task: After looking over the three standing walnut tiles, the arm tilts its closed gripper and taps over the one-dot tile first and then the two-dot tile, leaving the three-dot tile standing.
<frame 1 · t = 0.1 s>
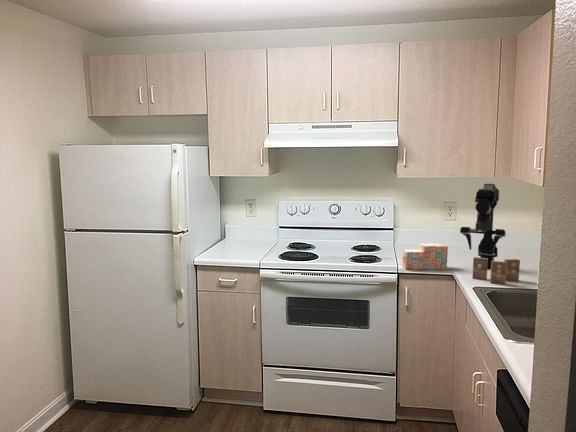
hand: (481, 250, 216), 15 cm above the countertop, tool pointing down, fingers open, 9 cm apart
tile two: (510, 280, 224), on the countertop
stack of blocks: (424, 268, 248), on the countertop
tile one: (479, 278, 227), on the countertop
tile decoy: (497, 283, 220), on the countertop
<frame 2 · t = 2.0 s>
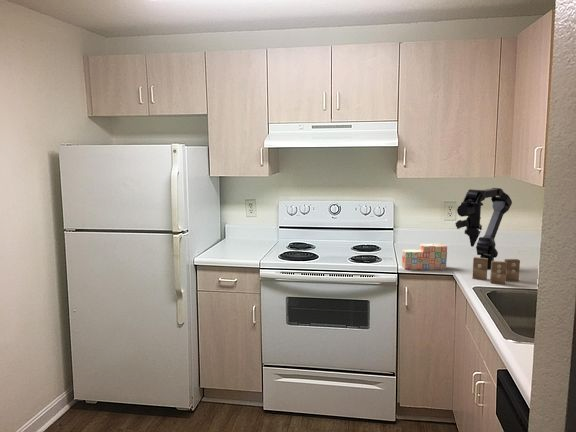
hand: (472, 245, 239), 13 cm above the countertop, tool pointing down, fingers open, 3 cm apart
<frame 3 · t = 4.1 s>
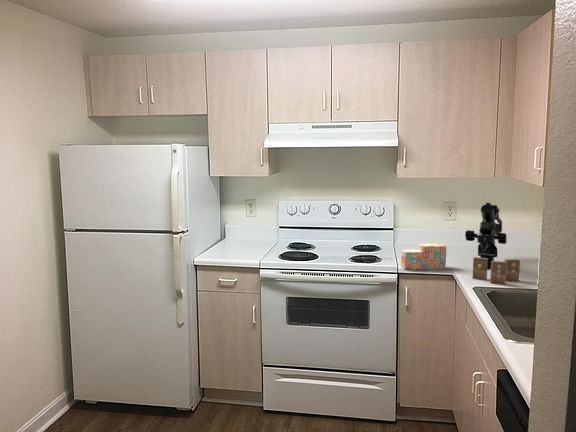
hand: (483, 251, 233), 12 cm above the countertop, tool tilted 45°, fingers closed
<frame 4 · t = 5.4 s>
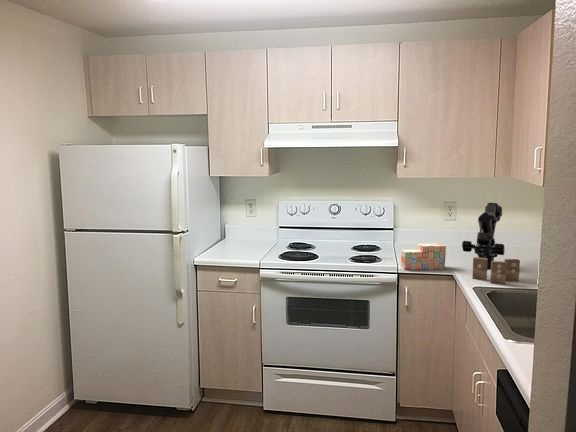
hand: (480, 262, 227), 8 cm above the countertop, tool tilted 45°, fingers closed
tile one: (479, 278, 227), on the countertop, tilted 5°
everything else where it was.
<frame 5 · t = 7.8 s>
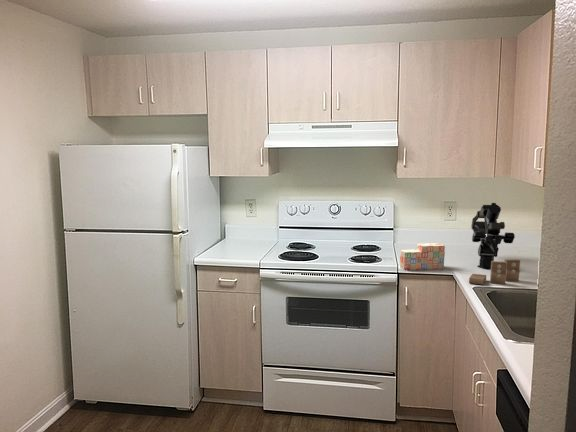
hand: (494, 251, 231), 12 cm above the countertop, tool tilted 45°, fingers closed
tile one: (479, 276, 226), point 1 cm above the countertop, tilted 88°
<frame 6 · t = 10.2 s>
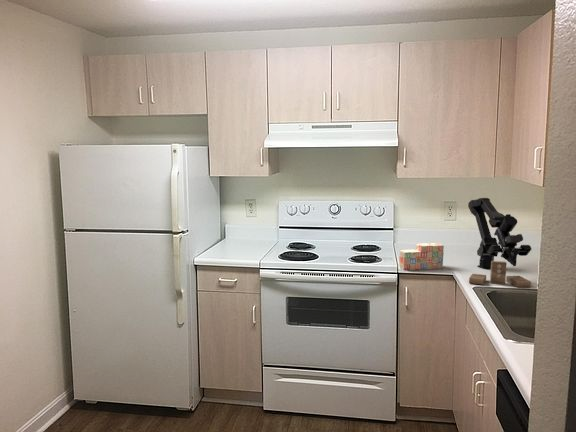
hand: (515, 265, 220), 8 cm above the countertop, tool tilted 45°, fingers closed
tile two: (512, 278, 223), point 1 cm above the countertop, tilted 90°
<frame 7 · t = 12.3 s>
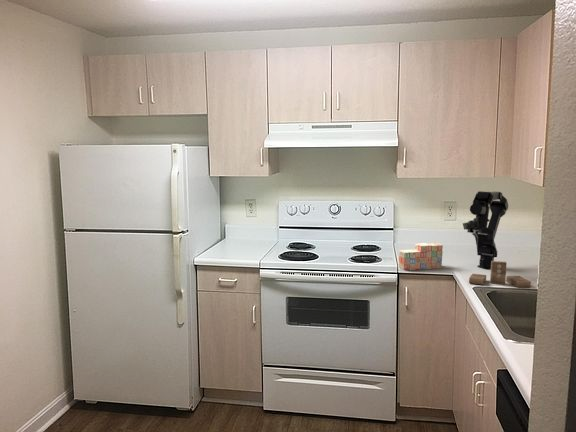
hand: (478, 248, 236), 12 cm above the countertop, tool pointing down, fingers closed
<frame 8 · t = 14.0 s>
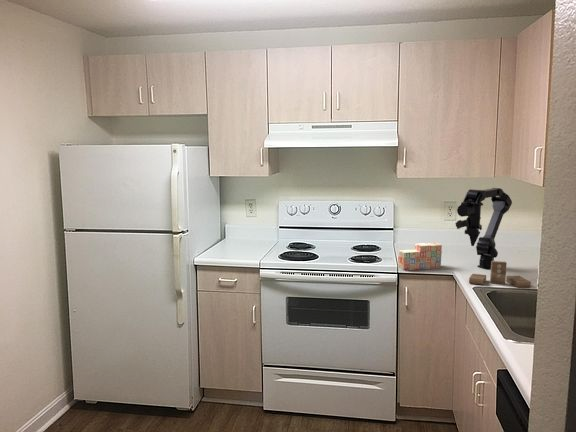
hand: (472, 245, 239), 13 cm above the countertop, tool pointing down, fingers closed
at the end: tile one tilted 88°; tile two tilted 90°; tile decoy tilted 0° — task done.
